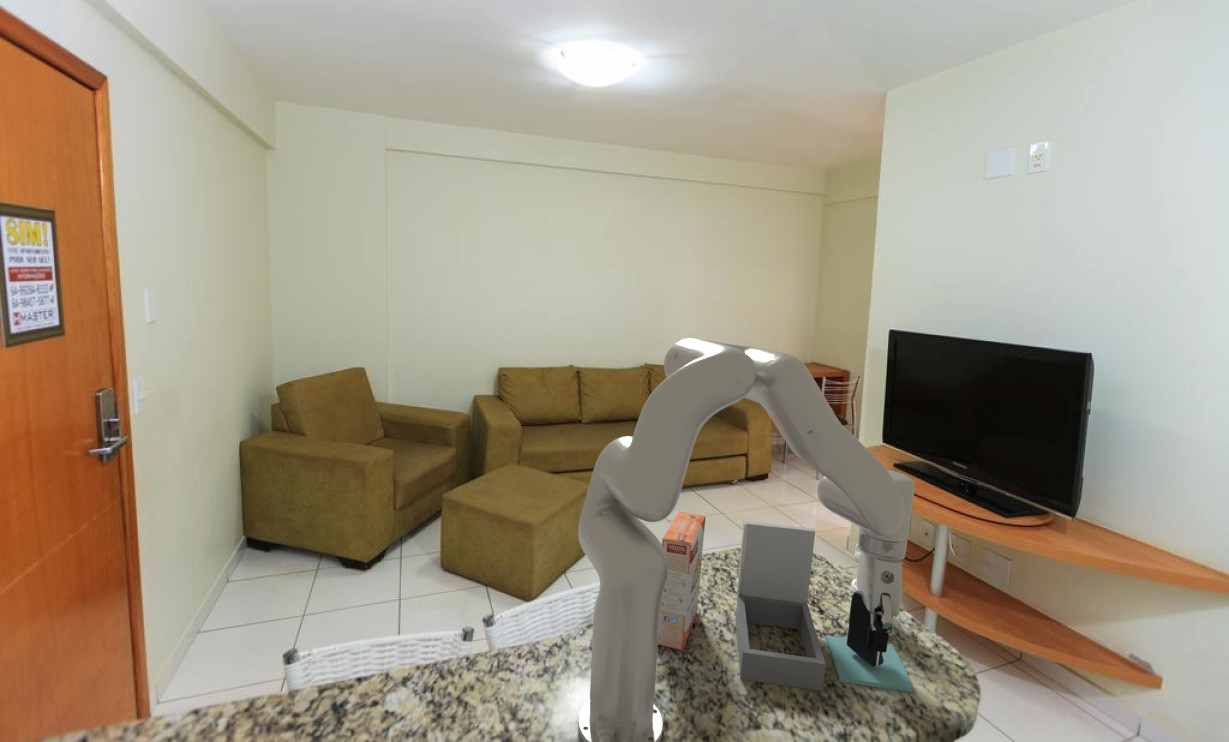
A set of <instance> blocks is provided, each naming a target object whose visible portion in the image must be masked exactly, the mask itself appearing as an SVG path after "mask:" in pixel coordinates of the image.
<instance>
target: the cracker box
mask: <svg viewBox="0 0 1229 742" xmlns="http://www.w3.org/2000/svg"><path fill="white" fill-rule="evenodd" d="M706 519H707V517H706V516H705V515H702V514H701V515H700V514H695V513H690V512H689V513H688V512H685V511H678V512H677V513H676V516H675V517H674V518H673V520H672V522H671V523H670V525H669V527H668V528H667V530H666V532H665V533H664V536H662V538H661V539H662V540H661V541H662V542H661V544H662V546H663V548H664V550H665V552H666V555H667V558H668V565H669V570H668V578H667V582H666V585H665V589H664V593H663V597H662V602H661V608H660V617H659V630H658V646H663V647H666V648H670V649H674V650H677V651H682V652H684V649H685V647H686V644H687V641H688V638H689V635H690V632H691V630H692V626H693V624H694V621H695V618H696V615H697V614H698V613H697V612H698V605H699V593H700V583H701V572H702V563H703V562H702V561H703V560H702V559H703V547H704V540H705V539H704V538H705V527H706Z"/></svg>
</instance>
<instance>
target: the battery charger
mask: <svg viewBox="0 0 1229 742" xmlns="http://www.w3.org/2000/svg"><path fill="white" fill-rule="evenodd" d="M875 611H881V608H880V607H877V608H875ZM892 618H893V619H894V616H893V615H892ZM848 619H849V621H848V630H847V637H846V638H847V646H848V647H849V648H851V649H852V650H853V651H854V652H855V653H856V654H857V655H858V656H860V657H861V658H862V659H863V660H865V661H866V662H867V663H868V664H870V665H871V666H873V667H874V666H875V667H877V666H879V665H881V664H883V662H884V659H883V656H882V652H877V651H870V650H867V648H866V642H867V634H868V627H871V612H869V611H868V609H867V608H866V606H865V604H864V602H863V600H862V595H861V592H860V590H859V591H856V592H853V594H852V595H851V600H850V608H849V617H848ZM881 619H882V615H876V622H877V621H879V620H880V621H881ZM893 624H894V623H893ZM893 624H892V626H891V628H890V633H892V629H893ZM890 633H889V634H890Z"/></svg>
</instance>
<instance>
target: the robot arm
mask: <svg viewBox="0 0 1229 742" xmlns="http://www.w3.org/2000/svg"><path fill="white" fill-rule="evenodd" d="M663 369H664V374H665V377H666V378H665V379H663V380H662V381H661V382H660V383H659V384H658V385H657V386H656V387H655V388H654V389H653V391H652V392H651V393H650V394H649V396H648V397H647V399H646V401H645V403H643V407H642V409H641V410H640V411H641V412H640V413H639V416H638V419H637V423H636V425H635V428H634V432H633V433H632V436H630V435H628V436H627V435H626V436H621V437H618V438H615V439H614V440H612V441H611V442H609V443H608V444H607V445H606V446H605V447H604V448H603V449H602V450H601V452H600V453H599V455H598V457H597V460H596V461H595V464H594V466H593V467H594V468H593V470H592V474H591V478H590V481H589V483H588V484H589V485H588V488H587V492H586V495H585V499H584V502H583V506H582V509H581V514H580V516H579V517H580V518H579V523H578V529H577V530H578V532H577V533H578V541H579V545H580V547H581V550H582V551H583V553H584V554H585V556H586V557H587V558H588V560H589V562H590V563H591V565H592V567H593V568H594V570H595V572H596V573H597V575H598V579H599V589H598V590H599V592H598V594H597V598H596V600H595V604H594V609H593V617H592V619H593V620H592V640H591V641H592V642H591V643H592V645H591V661H590V662H591V663H590V664H591V667H590V668H591V669H590V683H589V685H590V686H589V687H590V688H589V698H588V700H587V701H586V702H585V703H584V704H583V705H582V707H581V709H580V712H579V714H578V721H577V722H578V723H577V726H578V727H577V728H578V733H579V736H580V737H581V740H582V741H583V742H661V739H662V736H663V732H664V731H663V729H664V720H663V717H662V713H661V712H660V710H659V709H658V707H657V706H656V705H655V693H656V690H655V689H656V677H657V661H658V647H659V645H658V630H659V617H660V608H661V602H662V597H663V593H664V589H665V585H666V582H667V578H668V570H669V565H668V558H667V555H666V552H665V550H664V548H663V546H662V542H661V541H660V540H659V539H658V537H657V536H656V534H654V533H653V532H652V531H651V530H650V529H649V528H648V527H647V526H646V525H645V524H644V523H643V521H644V522H648V523H654V522H655V523H656V522H661V521H663V520H665V519H666V518H668V517H669V516H670V515H671V513H672V512H673V511H674V510H675V508H676V506H677V503H678V501H679V498H680V494H681V491H682V488H683V484H684V481H685V478H686V473H687V471H688V466H689V463H690V461H691V455H692V453H693V449H694V446H695V443H696V441H697V438H698V435H699V433H700V431H701V430H702V428H703V427H704V426H705V424H706V423H707V422H708V420H710V418H712V417H713V416H714V415H716V414H717V413H719V412H720V411H721V410H724V409H725V408H728V407H730V406H732V405H734V404H736V403H738V402H740V401H741V400H743V398H744V399H747V400H750V401H752V402H755V403H758V404H760V405H761V407H763V409H764V410H765V412H766V413H767V415H768V416H769V418H770V419H771V420H772V422H773V424H774V425H775V427H776V428H777V429H778V431H779V433H780V434H781V437H783V439H784V441H785V442H786V444H787V445H788V447H789V449H790V450H791V452H793V454H794V455H796V456H797V457H798V458H799V459H800V460H801V461H803V462H804V464H806V465H807V466H809V467H810V468H811V469H813V470H815V471H816V472H818V473H819V474H821V475H822V476H823V477H822V478H821V479H820V480H819V483H817V491H816V493H817V497H818V499H819V502H820V503H821V505H822V506H824V508H825V509H827V510H829V511H830V512H832V513H834V514H835V515H838V516H839V517H841V518H842V519H844V520H846V521H849V522H851V523H852V524H855V525H856V526H858V527H859V532H858V540H857V543H858V548H859V549H860V550H861V553H860V559H859V563H857V564H858V565H857V570H858V571H857V572H856V578H857V588H858V591H859V590H860V592H861V595H862V600H863V602H864V604H865V606H866V608H867V609H868V611H869V612H871V627H868V634H867V642H866V648H867V650H870V651H877V652H886V651H887V644H889V643H888V642H889V638H890V637H889V636H890V628H891V626H892V627H893V625H892V624H894V617H895V618H897V617H898V616H899V615H900V611H901V610H900V609H901V600H902V599H901V598H902V590H903V589H902V587H903V561H902V560H904V559H905V558H906V552H907V546H908V545H907V544H908V538H909V532H910V531H909V530H910V523H911V518H912V511H913V510H912V509H913V502H914V496H915V482H914V480H913V479H912V478H911V477H910V476H908V475H906V474H904V473H901V472H899V471H894V470H889V469H887V468H886V467H885V465H884V464H883V463H882V462H881V461H880V460H879V458H878V457H876V456H875V455H874V454H873V452H871V451H870V450H869V449H868V448H867V447H866V446H865V445H864V444H863V443H862V442H861V441H860V440H859V439H858V438H857V437H856V436H855V435H854V434H853V433H852V432H850V431H849V430H848V429H847V428H846V427H845V426H844V425H843V424H842V423H841V422H840V420H839V418H838V417H837V415H836V414H835V411H834V410H833V408H832V407H831V406H830V403H829V402H828V401H827V399H826V397H825V395H824V393H823V392H822V391H821V388H820V386H819V385H818V383H817V382H816V380H815V378H814V377H813V375H812V373H811V372H810V370H809V368H808V367H807V366H806V364H805V363H804V362H803V361H802V360H801V359H799V358H798V357H796V356H794V355H793V354H792V355H791V354H789V353H786V352H781V351H776V350H772V349H768V348H761V347H756V346H746V345H739V344H730V343H724V342H719V341H712V340H706V339H702V338H696V337H690V338H683V339H681V340H679V341H678V342H675V343H674V344H673V345H671V347H670V348H669V349H668V351H667V352H666V354H665V357H664V360H663ZM877 607H880V608H881V611H875V608H877ZM876 615H882V619H881V621H880V620H879V621H877V622H876ZM892 615H893V618H892Z"/></svg>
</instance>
